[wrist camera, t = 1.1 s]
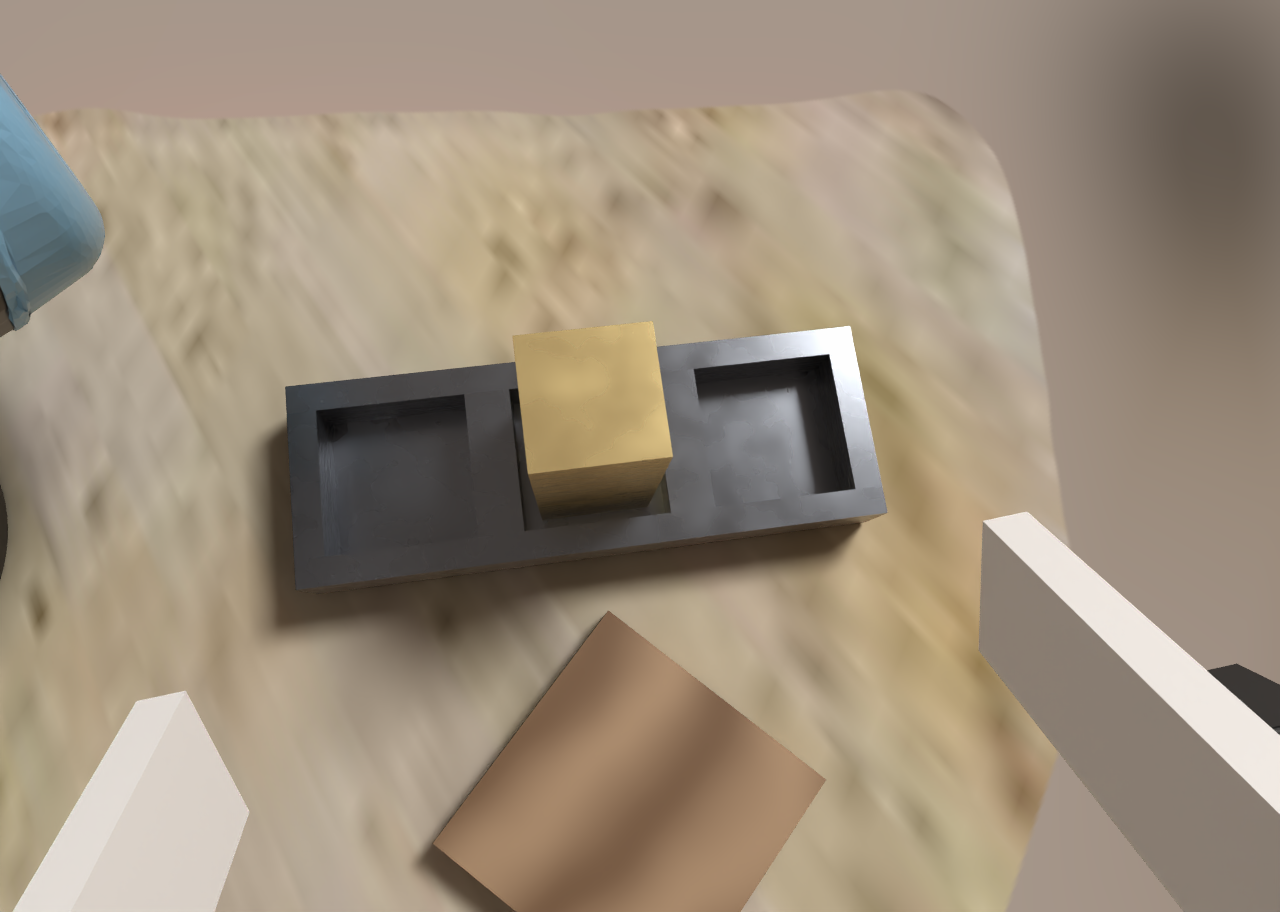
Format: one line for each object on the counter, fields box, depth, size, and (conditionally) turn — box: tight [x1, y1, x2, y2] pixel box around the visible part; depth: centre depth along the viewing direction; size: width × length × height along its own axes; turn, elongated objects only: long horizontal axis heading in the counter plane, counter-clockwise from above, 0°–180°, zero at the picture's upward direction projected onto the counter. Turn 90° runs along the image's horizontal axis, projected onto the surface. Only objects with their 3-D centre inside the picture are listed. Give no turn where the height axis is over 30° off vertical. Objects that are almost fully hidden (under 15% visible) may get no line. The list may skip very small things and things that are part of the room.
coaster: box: [433, 611, 826, 912], centre depth 36 cm, size 12×12×2 cm
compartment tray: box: [285, 326, 887, 594], centre depth 39 cm, size 26×9×3 cm, turn 98°
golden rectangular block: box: [513, 321, 673, 520], centre depth 34 cm, size 5×5×11 cm
